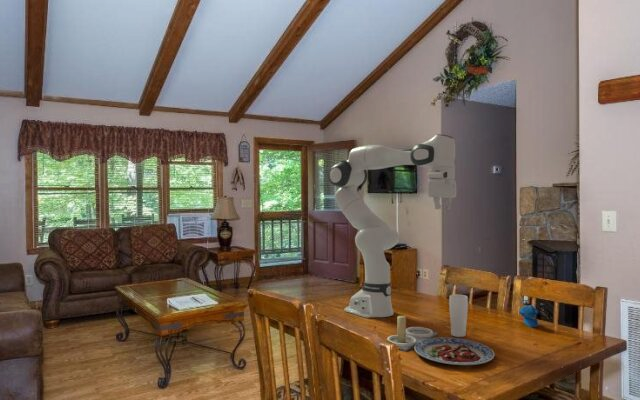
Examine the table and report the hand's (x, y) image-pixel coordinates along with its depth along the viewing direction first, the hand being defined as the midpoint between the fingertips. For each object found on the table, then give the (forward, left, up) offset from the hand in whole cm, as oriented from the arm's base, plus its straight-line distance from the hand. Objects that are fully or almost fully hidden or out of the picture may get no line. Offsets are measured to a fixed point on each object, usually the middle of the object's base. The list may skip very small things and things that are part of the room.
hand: (442, 209), depth 188 cm
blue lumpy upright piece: (+27, +24, -48) cm, 60 cm away
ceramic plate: (+18, -28, -48) cm, 58 cm away
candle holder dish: (-2, -23, -48) cm, 53 cm away
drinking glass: (+10, -7, -48) cm, 49 cm away
